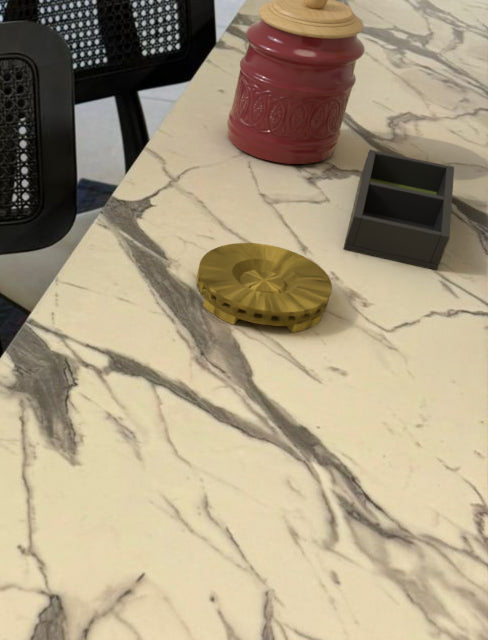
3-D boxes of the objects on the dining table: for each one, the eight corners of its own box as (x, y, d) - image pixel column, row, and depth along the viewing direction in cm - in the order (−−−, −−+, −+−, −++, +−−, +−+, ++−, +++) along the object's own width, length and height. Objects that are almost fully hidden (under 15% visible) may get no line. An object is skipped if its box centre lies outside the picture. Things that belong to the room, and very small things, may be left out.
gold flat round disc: (194, 323, 90) (199, 301, 89) (194, 256, 99) (198, 236, 97) (331, 341, 89) (338, 320, 88) (319, 272, 98) (325, 252, 97)
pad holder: (442, 197, 113) (454, 166, 110) (436, 270, 100) (449, 237, 98) (359, 179, 115) (369, 149, 112) (343, 249, 102) (353, 216, 100)
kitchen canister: (225, 114, 126) (258, -41, 114) (331, 128, 125) (375, -26, 113) (223, 157, 117) (258, -7, 105) (338, 173, 115) (386, 9, 104)
